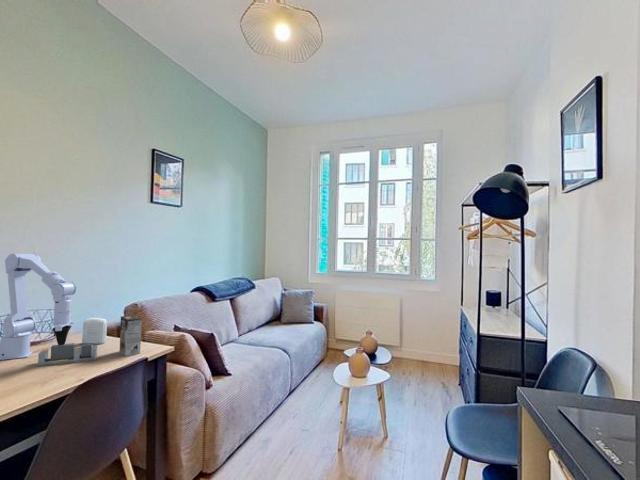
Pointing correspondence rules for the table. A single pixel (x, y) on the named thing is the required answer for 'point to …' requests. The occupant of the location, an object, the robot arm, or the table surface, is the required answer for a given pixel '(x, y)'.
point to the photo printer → (94, 331)
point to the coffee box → (130, 335)
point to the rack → (80, 354)
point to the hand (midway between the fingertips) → (61, 344)
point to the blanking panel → (62, 351)
